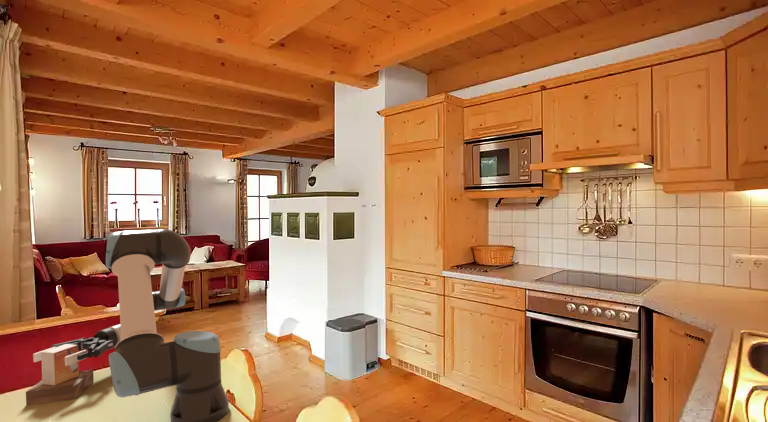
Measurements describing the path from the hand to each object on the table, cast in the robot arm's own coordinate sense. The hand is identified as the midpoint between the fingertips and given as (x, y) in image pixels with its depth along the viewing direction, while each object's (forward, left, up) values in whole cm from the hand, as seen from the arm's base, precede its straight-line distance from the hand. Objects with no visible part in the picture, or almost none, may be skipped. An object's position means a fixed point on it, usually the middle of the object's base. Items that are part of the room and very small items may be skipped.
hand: (49, 359), depth 130 cm
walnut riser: (+3, -2, -12) cm, 12 cm away
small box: (+3, -2, -8) cm, 9 cm away
